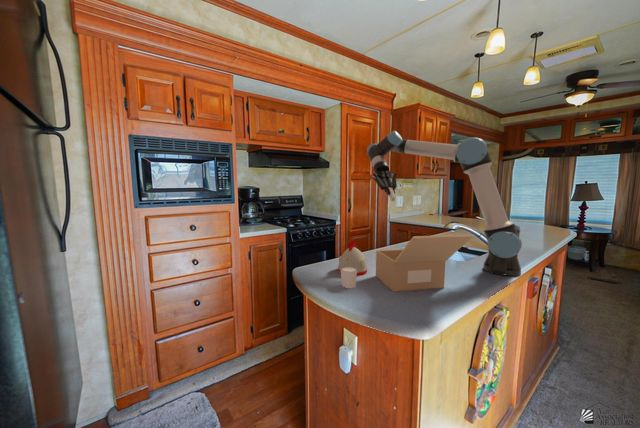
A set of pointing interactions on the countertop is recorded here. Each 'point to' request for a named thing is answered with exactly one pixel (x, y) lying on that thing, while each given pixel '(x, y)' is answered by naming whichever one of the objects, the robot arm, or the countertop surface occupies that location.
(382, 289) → the countertop surface
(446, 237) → the carton lid
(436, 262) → the carton
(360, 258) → the kitchen timer
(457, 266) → the countertop surface
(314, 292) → the countertop surface
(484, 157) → the robot arm
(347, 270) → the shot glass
